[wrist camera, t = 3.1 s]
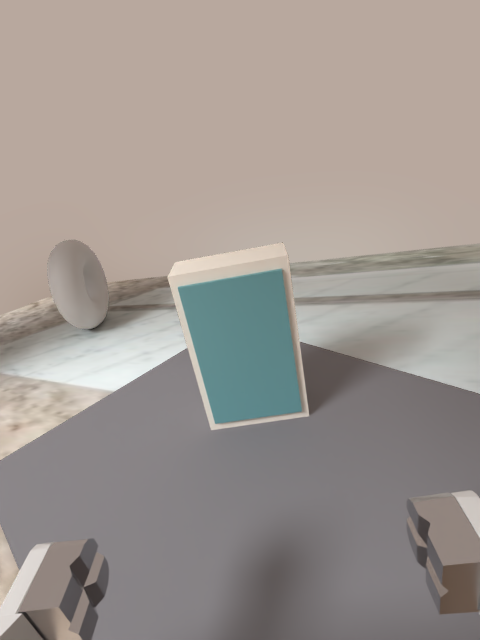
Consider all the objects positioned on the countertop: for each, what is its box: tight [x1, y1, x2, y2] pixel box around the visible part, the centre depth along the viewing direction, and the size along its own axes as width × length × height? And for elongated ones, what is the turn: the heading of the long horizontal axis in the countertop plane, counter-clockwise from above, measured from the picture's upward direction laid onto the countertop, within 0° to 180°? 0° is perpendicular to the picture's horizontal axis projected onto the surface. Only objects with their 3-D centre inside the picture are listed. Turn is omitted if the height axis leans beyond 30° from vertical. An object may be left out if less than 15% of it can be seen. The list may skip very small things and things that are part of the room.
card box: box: [167, 243, 309, 430], centre depth 21 cm, size 6×3×10 cm, turn 90°
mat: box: [0, 342, 480, 640], centre depth 20 cm, size 26×22×1 cm
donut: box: [47, 240, 109, 329], centre depth 41 cm, size 10×4×10 cm, turn 4°
